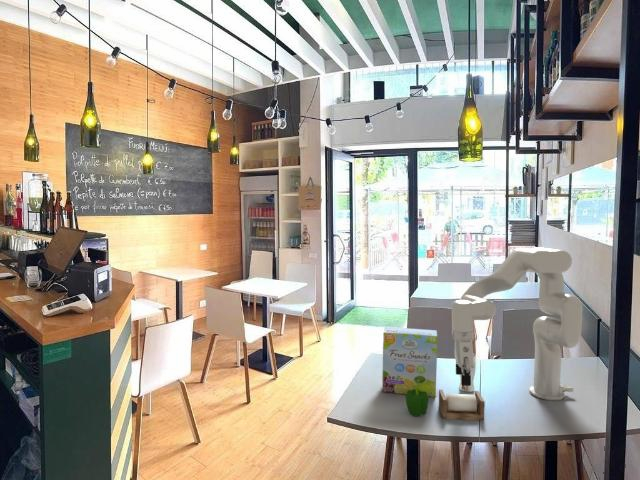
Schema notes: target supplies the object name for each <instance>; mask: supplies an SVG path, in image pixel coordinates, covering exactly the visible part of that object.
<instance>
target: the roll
mask: <svg viewBox="0 0 640 480" xmlns="http://www.w3.org/2000/svg"><path fill="white" fill-rule="evenodd" d="M445 397H446V400H447V411H462V412H476V411H477V401H476V396H475V394H466V393H465V394H464V393H462V394H461V393H446V394H445Z"/></svg>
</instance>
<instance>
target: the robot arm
mask: <svg viewBox="0 0 640 480" xmlns="http://www.w3.org/2000/svg"><path fill="white" fill-rule="evenodd" d="M572 264H573V258H572V256H571V254H570V253H569V252H568V251H566V250H563V249H556V248H547V247H532V248H523V247H521V248H516V249H513V250H512V251H511V253H509V255H508V256H506V258H505V259H504V261H503V262H502V263H501V264H500V265H499V267H498V268H497V269H495V271H494V272H493V273H491V274H489V275H486V276H485V277H483V278H481V279H479V280H477V281H476V282H474V283H473V284H471V285H470V286H469V287H468V288H467V289H466V291H465V292H464V293H463V294H462V296H461V297H460V299H457V300H453V301H452V303H451V338H452V339H453V340H454V359H455V375H459V376H460V375H461V385H462V386H471V371H470V367H471V368H473V367H474V365H473V353H474V349H473V348H474V347H473V341H474V339H475V335H474V334H475V333H474V330H475V329H474V326H475V325H474V324H475V323H474V322H475V321H488V320H491V319H492V318H493V317H494V316H495V315H496V314H497V307H496V304H495V303H494V302H492V301H491V300H489V299H486V298H485V297H487V296H488V295H490V294H495V293H500V292H504V291H505V292H506V291H509V290H512V289H513V288H514V287H515V286H516V284H517V283H518V282H519V281H520V280H521V279H522V277H523V276H524V275H525V274H526V273H528V272H529V273H534V274H538V277H539V288H538V289H539V293H538V308H539V310H540V311H541V312H543V313H545V314H548V315H551V316H552V317H551V316H544V315H543V316H539V317H537V318H536V319H535V320H534V322H533V325H532V334H533V337H534V338H533V339H534V369H533V370H534V371H533V373H534V374H533V385H531V386H530V387H529V388H528V389H529V393H530V394H531V395H532V396H534V397H536V398H538V399H542V400H546V401H552V402H553V401H554V402H555V401H561V400H563V399H564V398H565V392H568V393H573V392H574V388H573V386H568V385H566V384H561V380H562V379H561V378H562V374H561V373H562V372H561V371H562V349H561V347H564V348H569V349H572V348H575V347H576V346H578V345H579V343H580V340H581V337H582V336H581V335H582V329H583V328H582V326H583V324H582V323H583V313H584V312H583V310H584V309H583V304H582V301H581V300H580V298H579V297H577V296H576V295H573V294H571V293H565V290H564V289H565V286H564V285H565V283H564V282H565V281H564V275H563V273H565V272H567V271H568V270H569V269H570V268H571V267H572ZM553 316H554V317H553ZM555 317H558V318H555ZM465 369H466V370H465Z"/></svg>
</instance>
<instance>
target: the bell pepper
mask: <svg viewBox="0 0 640 480" xmlns="http://www.w3.org/2000/svg"><path fill="white" fill-rule="evenodd" d="M413 387H415V389H414V390H408V392H407V394H405V404H406V409H407V411H408V412H409V414H410V415H411V416H412V417H413V416H414V417H419V416H424V415H425V414H426V413H427V411H428V407H429V403H430V402H429V400H430V399H429V396H428V395H427V393H426V392H424V391H422V392H421V391H420V390H418V388H417V386H416V385H413Z"/></svg>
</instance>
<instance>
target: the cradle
mask: <svg viewBox="0 0 640 480" xmlns="http://www.w3.org/2000/svg"><path fill="white" fill-rule="evenodd" d="M474 395H475V396H476V401H477V411H476V412H462V411H447V400H446V394H445V393H444V391H443V389H438V408H439V409H438V410H439V412H440V414H441V417H442V419H444V420H460V421H461V420H466V421H485V400H484V398H483V396H482V395H481V393H480V391H479V390H474Z"/></svg>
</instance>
